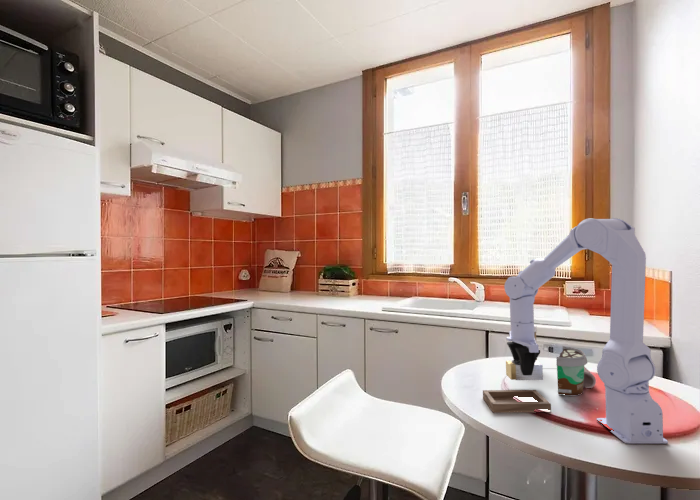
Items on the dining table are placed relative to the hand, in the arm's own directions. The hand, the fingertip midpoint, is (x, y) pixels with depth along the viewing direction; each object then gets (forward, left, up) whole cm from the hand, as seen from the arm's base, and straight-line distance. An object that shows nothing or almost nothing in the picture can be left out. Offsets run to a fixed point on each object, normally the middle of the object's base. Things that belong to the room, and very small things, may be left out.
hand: (523, 371), depth 98 cm
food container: (-2, -12, -5) cm, 13 cm away
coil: (+8, -18, -5) cm, 20 cm away
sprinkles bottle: (+16, -8, -5) cm, 19 cm away
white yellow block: (0, 0, -2) cm, 2 cm away
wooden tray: (-10, +6, -5) cm, 12 cm away
